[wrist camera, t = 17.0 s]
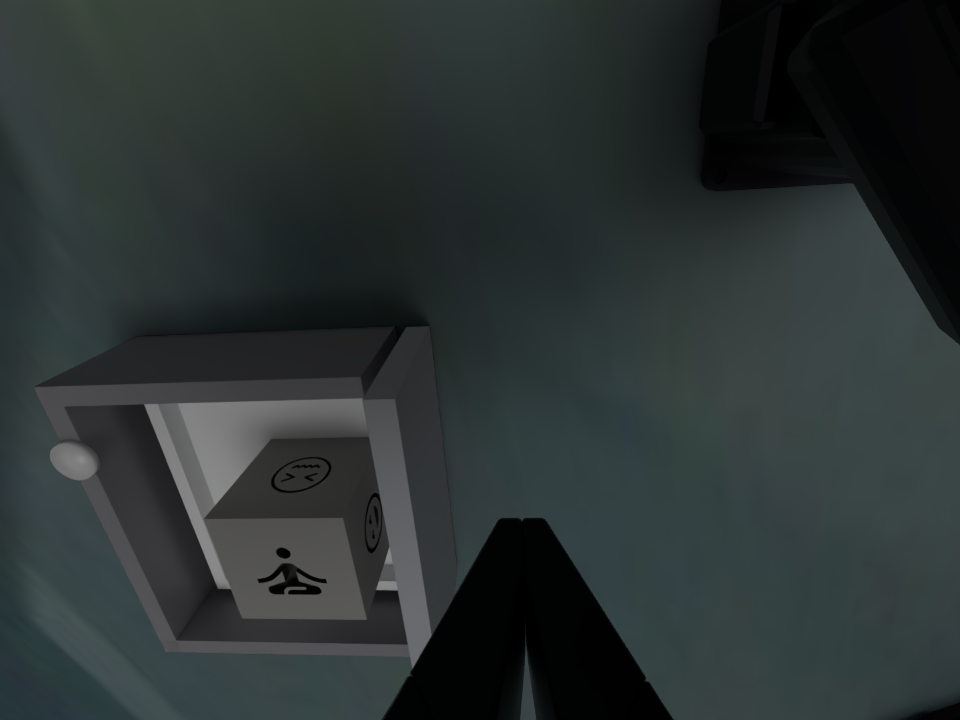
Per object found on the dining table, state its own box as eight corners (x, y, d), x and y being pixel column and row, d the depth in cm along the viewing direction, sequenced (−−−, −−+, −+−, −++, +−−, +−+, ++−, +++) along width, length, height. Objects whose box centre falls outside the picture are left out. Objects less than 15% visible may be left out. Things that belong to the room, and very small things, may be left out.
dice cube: (295, 525, 23) (242, 618, 18) (270, 439, 21) (203, 518, 16) (396, 525, 22) (366, 619, 18) (380, 436, 20) (342, 518, 16)
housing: (395, 325, 20) (357, 380, 15) (429, 566, 26) (410, 663, 21) (129, 336, 21) (14, 391, 16) (218, 566, 27) (153, 658, 22)
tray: (429, 326, 20) (394, 398, 14) (457, 570, 25) (440, 695, 19) (166, 336, 21) (30, 408, 15) (249, 569, 26) (174, 688, 20)
